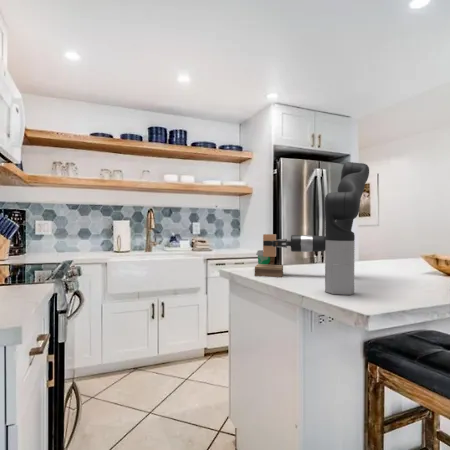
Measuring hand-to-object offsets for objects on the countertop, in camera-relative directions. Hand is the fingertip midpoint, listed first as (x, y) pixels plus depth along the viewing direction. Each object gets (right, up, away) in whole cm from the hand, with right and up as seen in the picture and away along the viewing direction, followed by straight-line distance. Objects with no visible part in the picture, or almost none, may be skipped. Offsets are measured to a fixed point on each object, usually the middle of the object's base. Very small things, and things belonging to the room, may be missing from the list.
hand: (264, 242), depth 153 cm
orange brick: (+2, -6, -1) cm, 7 cm away
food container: (+1, -15, +13) cm, 20 cm away
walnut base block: (+2, -15, -1) cm, 15 cm away
